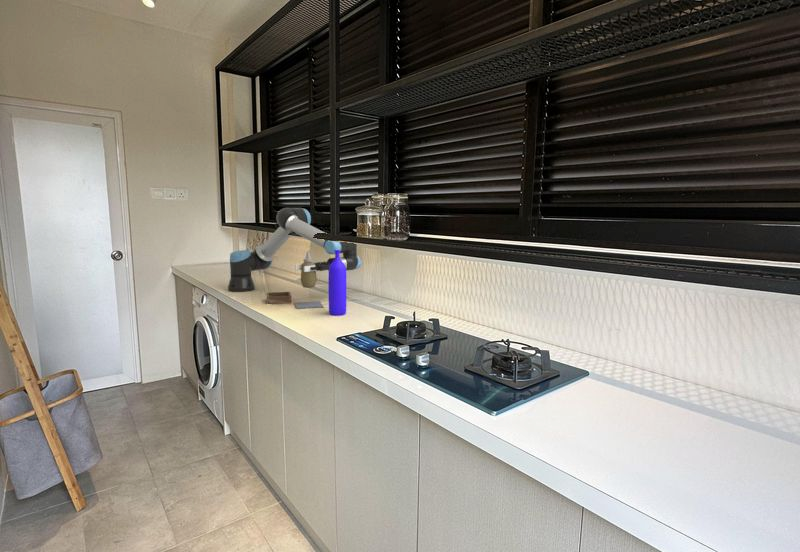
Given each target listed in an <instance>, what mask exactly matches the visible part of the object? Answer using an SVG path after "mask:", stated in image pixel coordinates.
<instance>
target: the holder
mask: <svg viewBox="0 0 800 552" xmlns="http://www.w3.org/2000/svg"><path fill="white" fill-rule="evenodd" d="M290 303H293V302H292V294H291V292H290V291H276V292H266V305H267V304H272V305H286V304H287V305H288V304H290Z"/></svg>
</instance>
